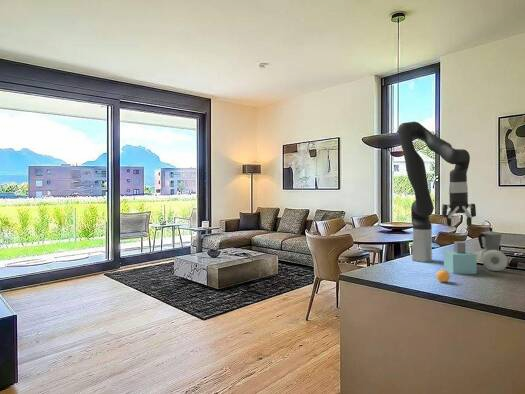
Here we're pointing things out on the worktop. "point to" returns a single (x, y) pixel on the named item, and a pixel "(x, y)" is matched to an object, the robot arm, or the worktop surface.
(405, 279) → the worktop surface
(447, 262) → the mint green box
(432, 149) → the robot arm
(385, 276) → the worktop surface
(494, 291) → the worktop surface
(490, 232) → the coffeepot
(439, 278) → the ball
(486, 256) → the donut
